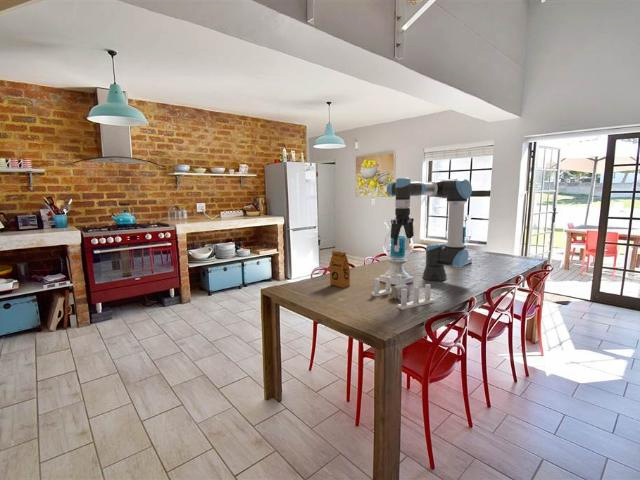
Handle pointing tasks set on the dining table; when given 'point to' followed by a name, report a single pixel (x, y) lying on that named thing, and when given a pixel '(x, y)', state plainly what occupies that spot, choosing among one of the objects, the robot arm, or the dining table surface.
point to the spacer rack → (404, 293)
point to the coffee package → (339, 270)
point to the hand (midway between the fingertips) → (401, 250)
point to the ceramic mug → (399, 291)
